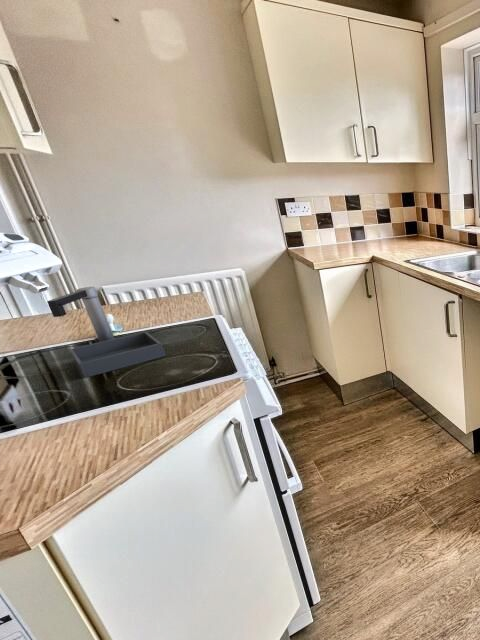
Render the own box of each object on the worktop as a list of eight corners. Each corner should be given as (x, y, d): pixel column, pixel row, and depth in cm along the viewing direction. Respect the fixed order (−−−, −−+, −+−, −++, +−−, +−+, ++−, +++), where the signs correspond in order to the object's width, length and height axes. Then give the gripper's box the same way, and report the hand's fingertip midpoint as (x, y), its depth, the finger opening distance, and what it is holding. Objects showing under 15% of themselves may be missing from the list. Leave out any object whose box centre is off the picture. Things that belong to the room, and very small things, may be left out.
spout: (49, 317, 97) (41, 301, 96) (89, 301, 109) (82, 287, 108) (66, 316, 98) (58, 300, 96) (104, 300, 110) (98, 286, 108)
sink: (85, 378, 96) (78, 364, 95) (74, 362, 104) (68, 349, 103) (166, 355, 107) (161, 343, 105) (150, 343, 115) (146, 331, 114)
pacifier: (93, 341, 117) (121, 336, 120) (83, 320, 115) (112, 315, 118) (98, 334, 123) (125, 329, 126) (89, 314, 120) (116, 309, 123)
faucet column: (98, 353, 109) (76, 302, 104) (94, 348, 112) (72, 298, 107) (126, 347, 113) (106, 296, 108) (121, 342, 116) (101, 293, 111)
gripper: (-74, 248, 86) (-1, 293, 90) (30, 233, 105) (86, 270, 108) (-83, 271, 88) (-11, 313, 91) (20, 251, 106) (76, 287, 110)
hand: (42, 290), depth 100 cm, fingers closed
